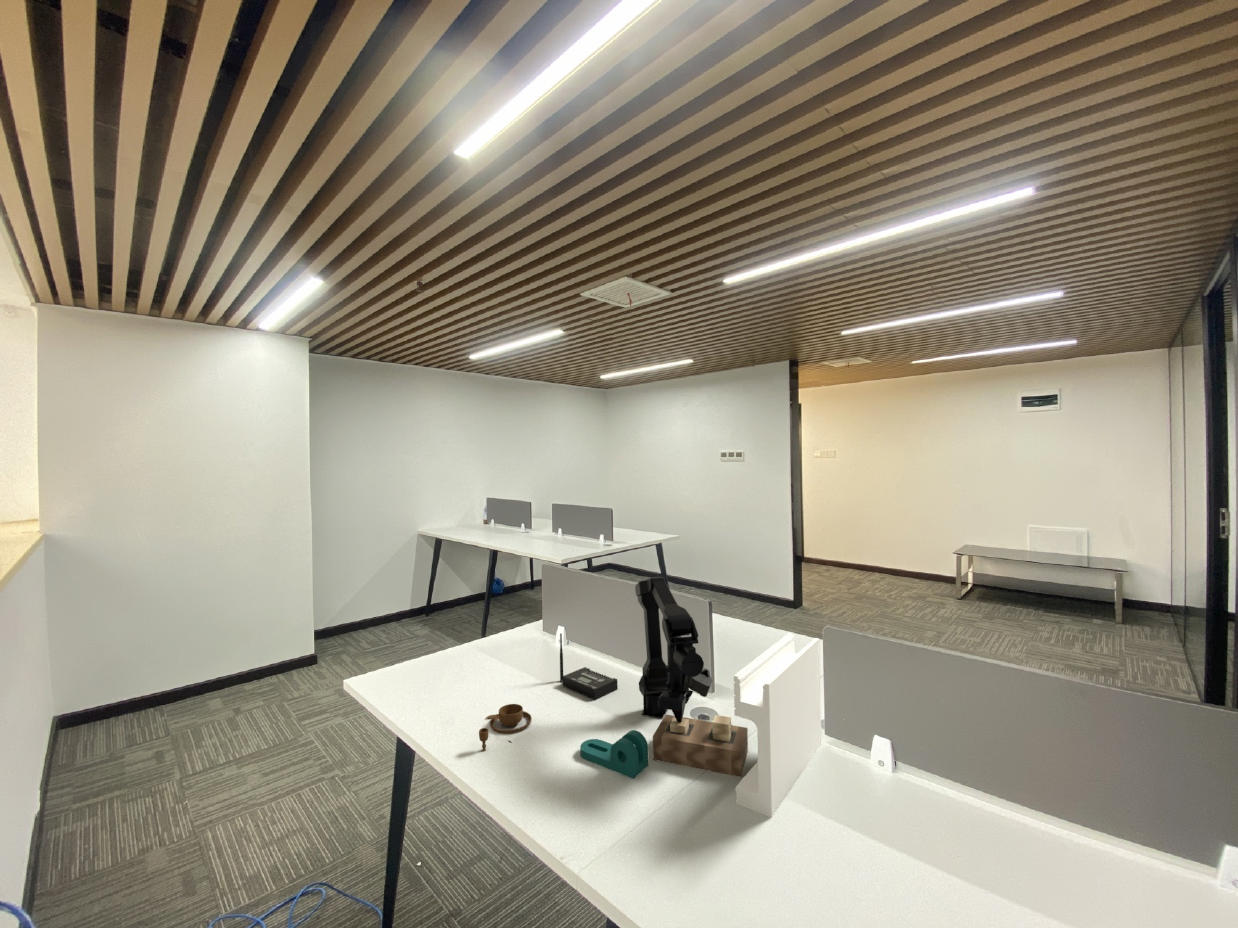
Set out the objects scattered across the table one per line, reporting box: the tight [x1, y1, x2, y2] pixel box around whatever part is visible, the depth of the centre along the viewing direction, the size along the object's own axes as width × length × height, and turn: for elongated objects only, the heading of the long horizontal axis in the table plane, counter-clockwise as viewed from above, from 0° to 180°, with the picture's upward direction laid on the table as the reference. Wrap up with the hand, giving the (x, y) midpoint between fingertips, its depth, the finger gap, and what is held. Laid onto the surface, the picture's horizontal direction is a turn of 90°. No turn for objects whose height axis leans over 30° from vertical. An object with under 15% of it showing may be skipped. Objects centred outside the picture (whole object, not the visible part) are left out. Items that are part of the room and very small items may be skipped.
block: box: [733, 632, 822, 818], centre depth 124 cm, size 35×8×28 cm, turn 142°
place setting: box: [478, 703, 532, 753], centre depth 147 cm, size 18×20×6 cm
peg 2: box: [711, 714, 732, 742], centre depth 129 cm, size 4×4×6 cm
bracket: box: [579, 729, 649, 780], centre depth 130 cm, size 18×7×8 cm, turn 55°
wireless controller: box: [559, 632, 619, 701], centre depth 174 cm, size 20×14×17 cm
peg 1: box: [670, 717, 689, 734], centre depth 133 cm, size 4×4×6 cm
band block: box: [652, 714, 749, 778], centre depth 131 cm, size 22×12×6 cm, turn 69°
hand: (679, 721), depth 133 cm, fingers closed, pressing on peg 1
